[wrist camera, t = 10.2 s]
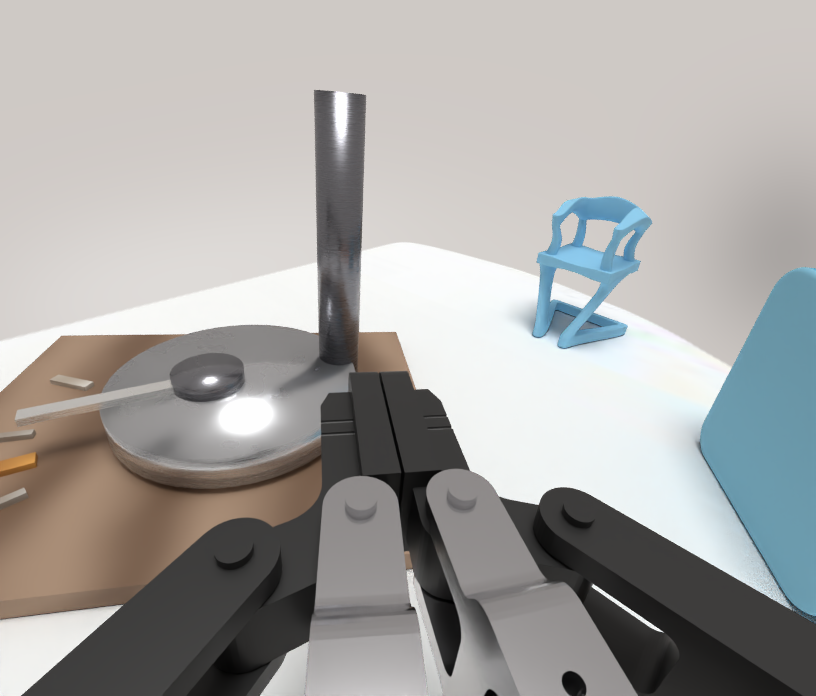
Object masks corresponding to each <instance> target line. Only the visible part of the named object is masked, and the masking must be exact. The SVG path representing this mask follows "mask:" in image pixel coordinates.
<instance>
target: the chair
mask: <svg viewBox="0 0 816 696" xmlns="http://www.w3.org/2000/svg"><path fill="white" fill-rule="evenodd" d="M572 212H573V213H574V214H576V215H577V216H578V218H579V223H578V228H577V233H576V236H575V238H574V241H573V243H571V244H567V245H565V246H562V247H560V246H561V241H562V236H561V230H560V225H561V223H562V222H563V221H564V219H565V218H566V217H567V216H568V215H569V214H570V213H572ZM588 219H589V220H590V219H597V220H607V221H612V222H617V223H619V225H618V226H617V227H615V228H614V232H613V237H612V240H611V242H610V243H609V245H608V246H607V248H606V250H605V252H600V251H596V250H594V249H591V248H589V247H585V246H582V244H583V241H584V238H585V233H586V220H588ZM651 224H652V221H651V219H650V218H649V217H648V216H647V215H646V214H645V213H644V212H643V211H642V210H641V209H640V208H639V207H638V206H636V205H635V204H633V203H632V202H630V201H628V200H626V199H623V198H620V197H612V196H609V197H598V198H586V197H581V198H577V199H572V200H568V201H566V202H564V203H563V204H562V205H561V207H560V208H559V210H558V211H557V212H556V213H554V214H553V219H552V230H553V238H552V242H551V245H550V246H549V248H548V250H547V251H543V252H540V253H539V254H538V258H537V263H540V285H539V295H538V305H537V314H536V322H535V327H534V330H533V333H532V334H533V336H535V337H542V336H543V335H544V334H545V333H546V332H547V330H548V328H549V326H550V323H551V321H552V318H553V315H554V312H555V310H559V311H562V312H564V313H567V314H570V315H572V316H575V317H576V318H575V319H574V320H573V321H572V322H571V323H570V324H569V325H568V327H567V328H566V329H565V330H564V331H563V332H562V334H561V335H560V338H559V341H558V346H559V347H561V348H568V347H571V346H574V345H578V344H582V343H587V342H592V341H597V340H602V339H608V338H613V337H617V336H621V335H624V334H625V332H626V329H627V325H626V324H623V323H620V322H618V321H615V320H612V319H609V318H606V317H604V316H601V315H598V314H595V313H593V312H594V311H595V310H596V309H597V308H598V306H599V305H600V304H601V303H602V302H603V300H604V299H605V298H606V297H607V296H608V294H609V293H610V292H611V291H612V290H613V289H614V287H616V285H617V284H618V283H619V282H620V281H621V280H622V279H624V278H625V277H626V276H627V275H628V274H630V273H633V272H635V271H637V270H638V268H639V265H640V262H641V261H639V260H635V259H634V252H635V247H636V245H637V243H638V241H639V240H640V238H641V237H642V235H643V234H644V232H645V230H647V229H648V227H649V226H650V225H651ZM632 230H635V231H636V232H635V234H634V235H633V236H632V237H631V238H630V240H629V241H628V243H627V244H626V246H625V249H624V257H623V256H617V255H615V252H616V250H617V247H618V245H619V243H620V241H621V240H622V238H623V237H625V236H626V235H627V234H628V233H629V232H631V231H632ZM556 268H561V269H566V270H569V271H572V272H575V273H578V274H581V275H583V276H585V277H587V278H590V279H592V280H595V281H598V282H601V284H600V287H599V289H598V291H597V292H596V294H595V295H594V296H593V297H592V299H591V300H590V301H589V302H588V304H587V305H586V306H585V307H584V308H583V309H581V308H578V307H575V306H573V305H570V304H567V303H564V302H561V301H558V300H552V301H551V302H550V296H551V289H552V282H553V277H554V273H555V271H556ZM586 321H589V322H591V323H594V324H597V325H599V326H602V327H598V328H591V329H584V330H579V329H580V328H581V326H582V325H583V324H584V323H585V322H586Z"/></svg>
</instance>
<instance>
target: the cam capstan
mask: <svg viewBox="0 0 816 696" xmlns="http://www.w3.org/2000/svg"><path fill="white" fill-rule="evenodd" d="M314 108H315V157H316V158H315V159H316V210H317V212H316V213H317V265H318V317H319V336H318V335H315V334H312V333H309V332H306V331H302V330H298V329H294V328H288V327H281V326H270V325H239V326H227V327H219V328H213V329H207V330H202V331H198V332H194V333H190V334H186V335H183V336H179V337H176V338H173V339H171V340H168V341H165V342H163V343H160V344H158V345H156V346H154V347H151V348H149V349H147V350H146V351H144V352H142V353H140V354H138V355H137V356H135V357H134V358H132V359H131V360H129V361H128V362H126V363H125V364H124V365H123V366H122V367H120V368H119V369H118V370H117V371H116V372H115V373H114V374H113V375H112V376H111V377H110V379H109V380H108V382H107V383H106V385H105V386H104V388H103V391H102V393H101V394H96V395H91V396H85V397H80V398H75V399H70V400H65V401H60V402H55V403H50V404H45V405H40V406H35V407H30V408H25V409H20V410H17V413H16V417H15V422H16V424H17V427H21V426H26V425H30V424H35V423H40V422H45V421H49V420H54V419H59V418H63V417H68V416H73V415H77V414H82V413H87V412H91V411H96V410H99V411H100V416H101V419H102V422H103V426H104V429H105V432H106V435H107V438H108V441H109V444H110V446H111V449H112V451H113V453H114V455H115V456H116V457H117V458H118V460H119V461H120V462H121V463H122V464H123V465H124V466H126V467H127V468H128V469H129V470H131V471H132V472H134V473H136V474H138V475H140V476H142V477H143V478H146V479H149V480H152V481H155V482H157V483H161V484H166V485H170V486H175V487H184V488H194V489H216V488H226V487H236V486H241V485H247V484H252V483H257V482H260V481H264V480H267V479H271V478H274V477H277V476H280V475H282V474H285V473H288V472H290V471H293V470H295V469H297V468H299V467H301V466H303V465H305V464H307V463H308V462H310V461H312V460H313V459H315V458H316V457H318V456H320V455H321V407H320V406H321V404H322V403H323V401H324V400H325V398H326V396H327V395H328V393H337V392H348V377H349V372H358V343H359V310H360V277H361V243H362V211H363V177H364V146H365V145H364V144H365V113H366V95H362V94H354V93H345V92H334V91H321V90H314Z"/></svg>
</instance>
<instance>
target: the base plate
mask: <svg viewBox="0 0 816 696" xmlns="http://www.w3.org/2000/svg"><path fill="white" fill-rule="evenodd" d="M312 334H315V335H318V336H319V333H312ZM183 335H186V334H179V335H88V336H61V337H60V338H59V339H58V340H57V341H55V342H54V343H53V344H52V345H51V346H50V347H49V348H48V349H47V350H46V351H45V352H44V353H43V354H41V355H40V356H39V357H38V358H37V359H36V360H35V361H34V362H33V363H32V364H31V365H30V366H28V367H27V368H26V369H25V370H24V371H23V372H22V373H21V374H20V375H19V376H18V377H17V378H15V379H14V380H13V381H12V382H11V383H10V384H9V385H8V386H7V387H6V388H5V389H4V390H2V391H1V392H0V619H4V618H13V617H21V616H29V615H37V614H45V613H53V612H62V611H70V610H78V609H86V608H94V607H102V606H110V605H119V604H125V603H127V602H128V601H129V600H130V599H131V598H132V597H133V596H135V595H136V594H137V593H138V592H139V591H140V590H141V589H142V588H144V587H145V586H146V585H147V584H148V583H149V582H150V581H151V580H153V579H154V578H155V577H156V576H157V575H158V574H159V573H161V572H162V571H163V570H164V569H165V568H166V567H167V566H168V565H170V564H171V563H172V562H173V561H174V560H175V559H176V558H177V557H179V556H180V555H181V554H182V553H183V552H184V551H185V550H187V549H188V548H189V547H190V546H191V545H192V544H193V543H194V542H196V541H197V540H198V539H199V538H200V537H201V536H202V535H203V534H205V533H206V532H207V531H209V530H210V529H211V528H213V527H215V526H216V525H218V524H220V523H223V522H225V521H228V520H231V519H236V518H245V517H248V518H256V519H260V520H262V521H265V522H267V523H268V524H269V525H271V526H272V527H274V526H277V525H279V524H282V523H285V522H287V521H290V520H292V519H294V518H297V517H298V516H300V515H302V514H303V513H305V512H306V511H307V510H308V509H309V508H310V507H311V506H312V505H313V504H314V503H315V502H316V500H317V499H318V497H319V495H320V492H321V488H322V465H321V455H320V456H318V457H316V458H315V459H313V460H312V461H310V462H308V463H307V464H305V465H303V466H301V467H299V468H297V469H295V470H293V471H290V472H288V473H285V474H282V475H280V476H277V477H274V478H271V479H267V480H264V481H260V482H257V483H252V484H247V485H241V486H236V487H226V488H216V489H194V488H184V487H175V486H170V485H166V484H161V483H157V482H155V481H152V480H149V479H146V478H143V477H142V476H140V475H138V474H136V473H134V472H132V471H131V470H129V469H128V468H127V467H126V466H124V465H123V464H122V463H121V462H120V461H119V460H118V458H117V457H116V456H115V455H114V453H113V451H112V449H111V446H110V444H109V441H108V438H107V435H106V432H105V429H104V426H103V422H102V419H101V416H100V411H99V410H96V411H91V412H87V413H82V414H77V415H73V416H68V417H63V418H59V419H54V420H49V421H45V422H40V423H35V424H30V425H26V426H21V427H17V424H16V422H15V417H16V413H17V410H20V409H25V408H30V407H35V406H40V405H45V404H50V403H55V402H60V401H65V400H70V399H75V398H80V397H85V396H91V395H96V394H101V393H102V391H103V388H104V386H105V385H106V383H107V382H108V380H109V379H110V377H111V376H112V375H113V374H114V373H115V372H116V371H117V370H118V369H119V368H120V367H122V366H123V365H124V364H125V363H126V362H128V361H129V360H131V359H132V358H134V357H135V356H137V355H138V354H140V353H142V352H144V351H146V350H147V349H149V348H151V347H154V346H156V345H158V344H160V343H163V342H165V341H168V340H171V339H173V338H176V337H179V336H183ZM386 371H408V373H409V376H410V379H411V382H412V385H413V387H414V390H416V388H415V385H414V382H413V379H412V377H411V374H410V371H409V368H408V365H407V362H406V359H405V357H404V354H403V351H402V348H401V345H400V342H399V340H398V337H397V334H396V332H360V333H359V343H358V372H378V374H379V372H386ZM404 556H405V565H406V569H412V563H411V558H410V553H409V551H405V552H404Z"/></svg>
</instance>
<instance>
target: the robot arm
mask: <svg viewBox="0 0 816 696" xmlns="http://www.w3.org/2000/svg"><path fill="white" fill-rule="evenodd" d="M320 407H321V465H322V488H321V492H320V495H319V497H318V499H317V500H316V502H315V503H314V504H313V505H312V506H311V507H310V508H309V509H308V510H307V511H306V512H305V513H303V514H302V515H300V516H298V517H297V518H294V519H292V520H290V521H287V522H285V523H282V524H279V525H277V526H274V527H272V526H271V525H269V524H268V523H267V522H265V521H262V520H260V519H256V518H248V517H245V518H236V519H231V520H228V521H225V522H223V523H220V524H218V525H216V526H215V527H213V528H211V529H210V530H209V531H207V532H206V533H205V534H203V535H202V536H201V537H200V538H199V539H198V540H197V541H196V542H194V543H193V544H192V545H191V546H190V547H189V548H188V549H187V550H185V551H184V552H183V553H182V554H181V555H180V556H179V557H177V558H176V559H175V560H174V561H173V562H172V563H171V564H170V565H168V566H167V567H166V568H165V569H164V570H163V571H162V572H161V573H159V574H158V575H157V576H156V577H155V578H154V579H153V580H151V581H150V582H149V583H148V584H147V585H146V586H145V587H144V588H142V589H141V590H140V591H139V592H138V593H137V594H136V595H135V596H133V597H132V598H131V599H130V600H129V601H128V602H127V603H125V604H124V605H123V606H122V607H121V608H120V609H119V610H118V611H116V612H115V613H114V614H113V615H112V616H111V617H110V618H109V619H107V620H106V621H105V622H104V623H103V624H102V625H101V626H99V627H98V628H97V629H96V630H95V631H94V632H93V633H92V634H90V635H89V636H88V637H87V638H86V639H85V640H84V641H83V642H81V643H80V644H79V645H78V646H77V647H76V648H75V649H73V650H72V651H71V652H70V653H69V654H68V655H67V656H66V657H64V658H63V659H62V660H61V661H60V662H59V663H58V664H57V665H55V666H54V667H53V668H52V669H51V670H50V671H49V672H47V673H46V674H45V675H44V676H43V677H42V678H41V679H40V680H38V681H37V682H36V683H35V684H34V685H33V686H32V687H30V688H29V689H28V690H27V691H26V692H25V693H24V694H23V695H21V696H260V694H261V693H262V691H263V690H264V689H265V687H266V686H267V684H268V683H269V682H270V680H271V679H272V677H273V676H274V675H275V673H276V672H277V670H278V669H279V667H280V666H281V664H282V662H283V661H284V658H285V656H286V653H287V652H289V651H291V650H293V649H295V648H297V647H299V646H301V645H302V644H304V643H306V642H308V641H309V649H308V661H307V673H306V685H305V696H428V691H427V683H426V675H425V667H424V659H423V652H422V644H421V636H420V628H419V622H418V617H417V613H416V610H415V608H414V607H411V604H410V599H409V591H408V582H407V574H406V565H405V556H404V552H405V551H409V553H410V558H411V563H412V568H413V572H414V578H413V584H414V589H415V593H416V596H417V600H418V603H419V607H420V611H421V614H422V618H423V621H424V625H425V628H426V632H427V635H428V639H429V642H430V646H431V649H432V653H433V657H434V660H435V664H436V667H437V671H438V674H439V678H440V682H441V686H442V692H443V696H816V624H814V623H813V622H811V621H809V620H807V619H806V618H804V617H802V616H800V615H799V614H797V613H795V612H793V611H792V610H790V609H788V608H786V607H785V606H783V605H781V604H779V603H778V602H776V601H774V600H772V599H771V598H769V597H767V596H765V595H764V594H762V593H760V592H758V591H757V590H755V589H753V588H751V587H750V586H748V585H746V584H745V583H743V582H741V581H739V580H738V579H736V578H734V577H732V576H731V575H729V574H727V573H725V572H724V571H722V570H720V569H718V568H717V567H715V566H713V565H711V564H710V563H708V562H706V561H704V560H703V559H701V558H699V557H697V556H696V555H694V554H692V553H690V552H689V551H687V550H685V549H683V548H682V547H680V546H678V545H676V544H675V543H673V542H671V541H669V540H668V539H666V538H664V537H662V536H661V535H659V534H657V533H655V532H654V531H652V530H650V529H648V528H647V527H645V526H643V525H642V524H640V523H638V522H636V521H635V520H633V519H631V518H629V517H628V516H626V515H624V514H622V513H621V512H619V511H617V510H615V509H614V508H612V507H610V506H608V505H607V504H605V503H603V502H601V501H600V500H598V499H596V498H594V497H593V496H591V495H589V494H587V493H585V492H582V491H580V490H577V489H573V488H565V487H560V488H554V489H551V490H549V491H547V492H546V493H545V494H544V495H543V496H542V498H541V500H540V503H539V505H535V504H530V503H524V502H519V501H514V500H509V499H505V498H502V497H499V496H498V495H497V493H496V491H495V489H494V488H493V486H492V485H491V484H490V483H489V482H488V481H487V480H486V479H485V478H483V477H482V476H480V475H478V474H476V473H474V472H471V471H470V470H469V467H468V465H467V462H466V460H465V458H464V455H463V453H462V450H461V448H460V446H459V443H458V441H457V439H456V436H455V434H454V431H453V429H451V424H450V422H449V419H448V417H447V416H446V412H445V410H444V407H443V405H442V403H441V401H440V400H439V399H438V398H437V397H436V396H435V395H434V394H433V393H432V392H430V391H429V390H428V389H420V390H414V387H413V385H412V382H411V379H410V376H409V373H408V371H386V372H379V374H378V372H349V377H348V392H337V393H328V395H327V396H326V398H325V400H324V401H323V403H322V404H321V406H320ZM593 584H594V585H596V586H597V587H599V588H600V589H602V590H603V591H605V592H606V593H608V594H609V595H610V596H612V597H613V598H615V599H616V600H618V601H619V602H621V603H622V604H624V605H625V606H627V607H628V608H629V609H631V610H632V611H634V612H635V613H637V614H638V615H640V616H641V617H643V618H644V619H646V620H647V621H648V622H650V623H651V624H653V625H654V626H656V627H657V628H659V629H660V630H662V631H663V632H664V633H663V632H659V631H656V630H654V629H652V628H650V627H648V626H647V625H646V624H644V623H643V622H641V621H640V620H638V619H637V618H635V617H634V616H632V615H631V614H630V613H628V612H627V611H625V610H624V609H622V608H621V607H619V606H618V605H617V604H615V603H614V602H612V601H611V600H609V599H608V598H606V597H605V596H604V595H602V594H601V593H599V592H598V591H596V590H595V589H593V588H592V585H593Z"/></svg>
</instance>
